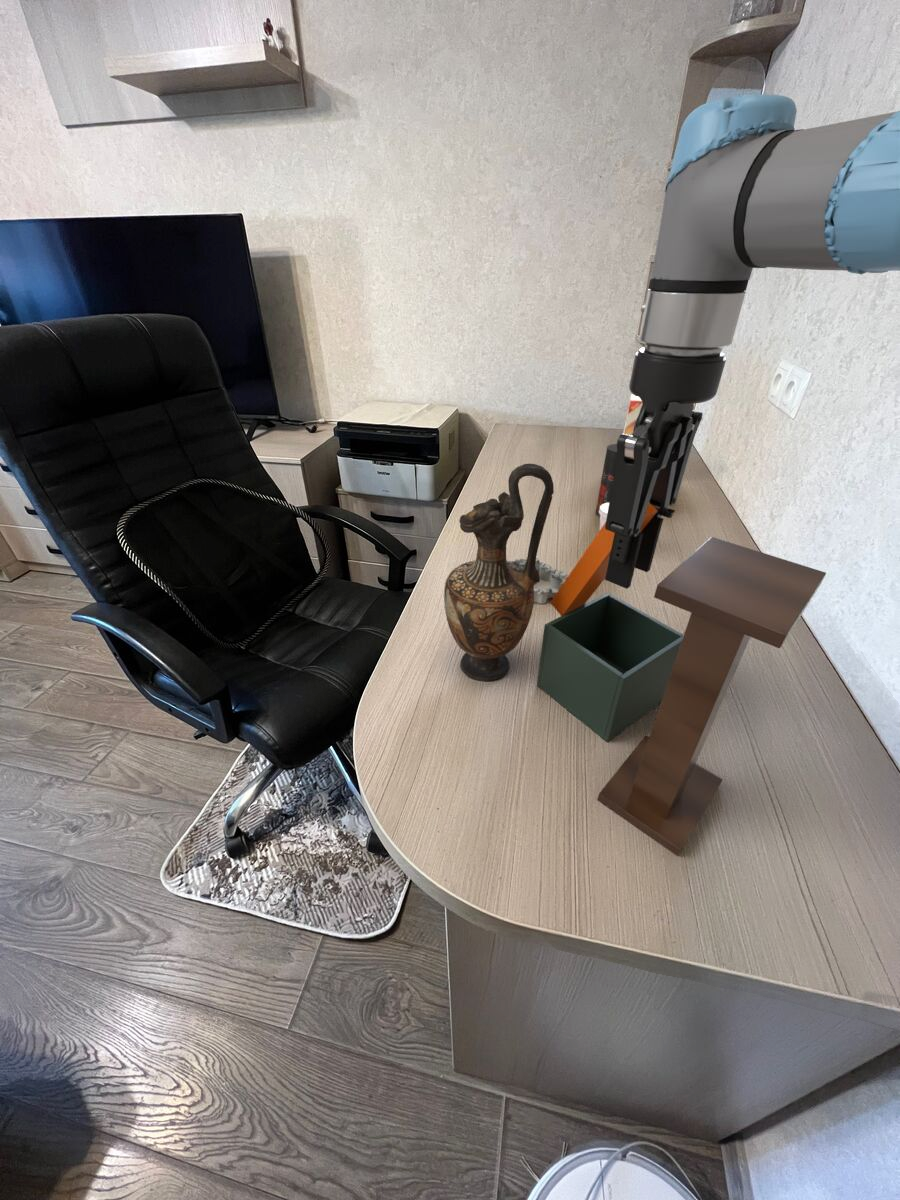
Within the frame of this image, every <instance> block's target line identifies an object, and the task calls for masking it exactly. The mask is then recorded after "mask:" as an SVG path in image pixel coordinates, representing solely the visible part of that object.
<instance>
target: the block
mask: <svg viewBox="0 0 900 1200" xmlns="http://www.w3.org/2000/svg"><path fill="white" fill-rule="evenodd" d="M657 511H658V510H657V509H656V508H655V507H654V506H653V505H652V504H651V503H650V502H649V504H648V507H647V510H646V513H645V516H644V519H643V522H642V525H641V529H640V533H641V532H642V530H643V529H644V528H645V527H646V525H647V524H648V523H649V521H650V520H651V519H652V518H653V516H654V515H655V514H656V512H657ZM605 525H606V522H605V524H604V525H603V527H602V528H601V529H600V528H599V531H598V532H597V534H596V535H595V537H594V538H593V540H592V541H591V543H590V544H589V546H588V547H587V548H586V549H585V552H584V553H583V554H582V556H581V557H580V558H579V560H578V561H577V563H576V564H575V566H574V567H573V569H571V571H570V573H569V575H567V576H568V577H567V579H566V580H565V582H564V583H563V585H562V586H561V588H560V589H559V591H558V592H557V593H556V595H555V596H554V598H552V599H551V601H550V604H551V605H552V606H553V608H554V610H555V611H557V613H558V614H559V615H560V617H561V616H562V615H564V614H566V613H568V612H570V611H572V610H574V609H576V608H578V607H580V606H582V605H584V604H586V603H588V602H589V599H590V598H591V597H592V595H593V594H594V593H595V592H596V591H597V589H598V588H599V587H600V585H601V584H602V583H603V582H604V580H605V577H606V572H607V567H608V563H609V558H610V553H611V548H612V543H613V539H614V534H615V533H614V532H611V531H608V530H606V529H605Z"/></svg>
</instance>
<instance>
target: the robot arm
mask: <svg viewBox="0 0 900 1200" xmlns="http://www.w3.org/2000/svg"><path fill="white" fill-rule="evenodd" d="M797 109H798V108H797V106H796V103H795V100H794V99H792V98H790V97H789V96H785V95H780V94H761V93H759V94H746V95H742V96H741V95H740V96H737V97H733V98H731V97H724V98H719V99H716V100H712V101H709V102H706V103H704V104H701V105H699V106H698V107H696V108H694V110H692V111H691V112H690V113H689V114H688V116H686V118H685V119H684V122H683V123H682V124H681V128H680V130H679V133H678V134H679V135H678V139H677V141H676V147H675V150H674V154H673V158H672V163H671V165H670V170H669V174H668V178H667V179H666V181H665V185H664V186H665V187H664V198H663V205H662V212H661V218H660V224H659V231H658V236H657V241H656V247H655V254H654V258H653V264H652V269H651V273H650V274H651V275H650V280H649V284H648V289H647V295H646V300H645V301H644V302H642V304H641V306H640V312H641V313H642V314H643V315H642V320H641V324H640V325H641V326H640V330H639V336H638V340H639V342H641V344H643V345H644V347H640V348H639V349H638V351H636V352H635V354H634V359H633V365H632V369H631V374H630V380H629V384H628V385H629V386H628V388H629V389H628V390H629V391H630V394H634V395H635V396H639V397H640V399H641V400H642V402H643V403H642V406H641V409H640V412H639V415H638V417H637V420H636V423H635V426H634V430H633V433H632V434H631V435H626V434H623V433H621V434H620V435H619V436H618V437H617V440H616V444H617V463H616V468H615V474H614V480H613V485H612V491H611V496H610V502H609V508H608V513H607V519H606V525H605V529H606V530H608V531H611V532H614V533H615V534H614V539H613V543H612V548H611V553H610V558H609V563H608V567H607V572H606V577H605V579H604V580H605V581H607V582H610V583H612V584H614V585H617V586H619V587H622V588H623V589H626V590H627V589H629V588H630V587H631V585H632V581H633V577H634V573H635V569H638V570H640V571H642V572H644V573H648V572H649V571H651V567H652V564H653V560H654V556H655V552H656V549H657V545H658V541H659V536H660V534H661V529H662V526H663V523H664V518H668V519H672V518H673V516H674V515H675V513H676V509H672V508H669V507H670V506H671V507H674V505H676V503H677V501H678V496H679V492H680V489H681V486H682V481H683V478H684V475H685V471H686V467H687V465H688V461H689V457H690V453H691V450H692V446H693V444H694V440H695V437H696V434H697V431H698V429H699V427H700V425H701V421H702V420H703V412H700V411H696V410H695V408H694V404H695V405H696V404H701V403H706V402H709V401H711V400H712V399H714V398H715V397H716V395H717V393H718V390H719V386H720V383H721V379H722V375H723V372H724V368H725V367H726V366H725V365H726V362H727V357H726V354H725V353H724V352H723V351H722V350H723V349H726V348H728V347H729V346H731V345H732V342H733V340H734V336H735V333H736V329H737V325H738V321H739V318H740V314H741V311H742V309H743V308H742V307H743V303H744V302H745V301H744V300H745V298H746V297H745V296H746V293H747V289H748V285H749V280H750V279H751V276H752V272H753V269H766V268H775V269H776V268H777V269H778V268H779V269H791V270H794V269H795V270H808V271H809V270H810V271H811V270H813V271H846V272H848V273H852V274H856V275H857V274H858V275H863V274H865V273H869V274H882V273H888V272H895V271H900V110H897V111H891V112H888V113H883V114H877V115H873V116H866V117H862V118H857V119H850V120H846V121H841V122H835V123H831V124H825V125H821V126H815V127H810V128H802V129H796V128H795V123H796V118H797ZM693 409H694V411H693ZM648 456H649V458H648ZM649 502H650V503H651V504H652V505H653V506H654V507H655V508H656V509H657V510H658V511H657V512H656V514H655V515H654V516H653V518H652V519H651V520H650V521H649V523H648V524H647V525H646V527H645V528H644V529H643V530H642V532H641V533H640V529H641V525H642V522H643V519H644V516H645V513H646V510H647V507H648V504H649ZM663 517H664V518H663Z"/></svg>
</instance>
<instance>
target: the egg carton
mask: <svg viewBox="0 0 900 1200" xmlns="http://www.w3.org/2000/svg"><path fill="white" fill-rule="evenodd" d="M507 562H509V563H512V564H515V565H516V566H518V567H520V568H521V569H523V570H524V568H525V565H526V562H527V557H525V558H520V559H517V558H516V559H514V560H507ZM535 565H536V569H537V571H538V572H539V575H540V581H539V582H537V583H535V584H534V603H537V604H541V605H543V604H547V600H548V599H550V598H552V599H553V598H554V596H555V595H556V593H557V592H558V591H559V589H560V588H561V586H562V585H563V583H564V582H565V580H566V579H567V577H568V576H569V575H567V573H565V572H564V571H561V570H560V571H559V570H557V568H553V567H552V566H551V565H550V564H548V563H544V562H543V561H540V559H539V558H538V557H536V564H535Z"/></svg>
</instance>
